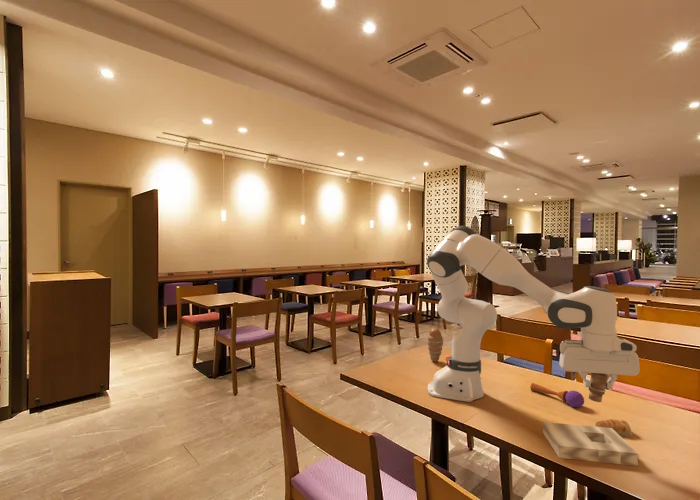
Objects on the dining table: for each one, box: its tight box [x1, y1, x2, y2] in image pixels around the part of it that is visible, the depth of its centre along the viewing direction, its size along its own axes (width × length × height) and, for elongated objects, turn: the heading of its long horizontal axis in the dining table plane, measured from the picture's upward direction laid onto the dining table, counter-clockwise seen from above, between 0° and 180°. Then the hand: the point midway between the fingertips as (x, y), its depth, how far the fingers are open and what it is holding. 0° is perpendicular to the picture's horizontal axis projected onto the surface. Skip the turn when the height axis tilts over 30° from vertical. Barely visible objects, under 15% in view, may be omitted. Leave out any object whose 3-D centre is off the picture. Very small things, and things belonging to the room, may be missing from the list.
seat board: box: [542, 421, 639, 467], centre depth 109 cm, size 20×14×4 cm
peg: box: [588, 373, 609, 403], centre depth 108 cm, size 4×4×8 cm
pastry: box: [594, 418, 633, 438], centre depth 119 cm, size 9×7×4 cm
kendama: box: [529, 382, 585, 409], centre depth 143 cm, size 6×6×20 cm
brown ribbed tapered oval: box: [427, 326, 444, 363], centre depth 188 cm, size 9×8×18 cm
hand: (597, 387), depth 108 cm, fingers closed on peg, 4 cm apart
